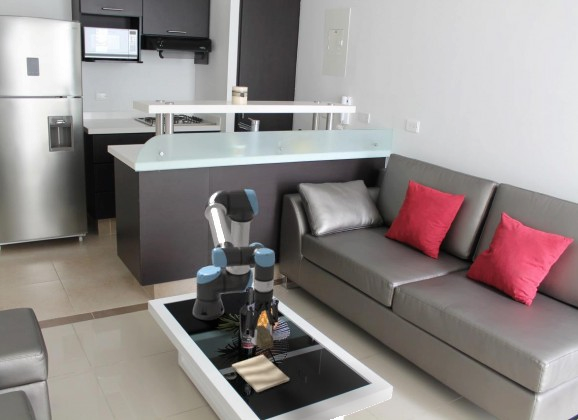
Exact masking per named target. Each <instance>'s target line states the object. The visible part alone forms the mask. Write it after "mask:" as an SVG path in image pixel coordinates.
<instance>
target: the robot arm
mask: <svg viewBox="0 0 578 420" xmlns="http://www.w3.org/2000/svg"><path fill="white" fill-rule="evenodd" d="M203 213H204V216H205V218H206V219H207V220H208V223H209V228H210V233H211V237H212V241H213V246H214V248H213V249H211V263H212V265H208V266H204V267H201V268H200V269H199V270H198V271H197V273H196V279H195V282H196V299H195V302H194V304H193V308H192V315H193V316H194V317H195V318H196V319H198V320H201V321H214V319H215V320H218V319H219V318H218V317H219V316H222V315H223V314H224V313H225V307H224V305H223V301H222V297H221V296H222V294H233V293H234V294H235V293H245V292H246V289H247V288H248V287H251V288H252V286H253V302H252V304H246V309H247V313H246V321H245V328H246V329H247V330H249V336H250V337H252V338H251V340H250V341H251V343H252V345H254V346H257V330H256V326H258V323H259V320H260V317H261V315H262V313H263V312H264V311H265V313H266V317H267V321H268V322H267V323H266V329H267V330H268V332H269V333H270V334H271V335H272V334H273V332H274V327H275V326H276V324H277V323H278V322H279V306H278V305H279V303H280V300H279V299H278V298H276V297H274V283H275V278H274V277H275V264H276V263H275V262H276V258H275V257H276V256H275V255H276V254H275V251H274V250H273V249H271V248H268V247H266V246H264V245H263V244H262V243H260V242H252V243H251V244H249V241H250V231H251V230H250V229H251V222H252V221H253V220H254V217H255V216H257V215H258V214H259V203H258V197H257V194H256V191H255V190H254V189H246V188H243V189H220V190H217V191H214V192H213V193H211V194H210V195H209V196H208V198H207V200H206V201H205V204H204V206H203ZM227 216H228V219H229V220H230V221H231V223H230V224H231V225H230V226H231V227H230V226H229V222H228V219H227ZM250 266H253V268H254V273H253V269H252V268H251V267H250ZM222 268H224V269H222ZM224 315H225V314H224ZM224 315H223V316H224ZM223 316H222V317H223ZM217 318H218V319H217ZM272 336H273V335H272Z"/></svg>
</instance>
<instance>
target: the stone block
mask: <svg viewBox="0 0 578 420" xmlns="http://www.w3.org/2000/svg"><path fill="white" fill-rule="evenodd" d="M256 330H257V345H256V346H257V347H258V348H259V349H261V350H267V349H271V348H273V347H274V336H273V335H271V334H270V333H269V332H268V330H267V327H266V326H265V325H257V326H256ZM250 337H251V336H250ZM251 339H252V337H251Z"/></svg>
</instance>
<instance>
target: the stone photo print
mask: <svg viewBox="0 0 578 420" xmlns="http://www.w3.org/2000/svg"><path fill="white" fill-rule="evenodd" d="M231 368H232V369H234V371H235V372H237V374H239V376H241V378H242V379H243V380H245V382H246V383H248V385H250V387H252V388H253V390H254V391H255V392H256V393H260V392H263V391H265V390H268V389H270V388H273V387H276V386H279V385H281V384H283V383H287V382H289V381H290V377H289V376H287V375H286V374H285V373H284V372H283V371H282V370H281V369H279V368H278V367H277V366H276V365H275V364H274V363H273V362H271V360H269V359H268V358H267V357H266V356H265V355H264V354H260V355H258V356H253V357H251V358H248V359H245V360H242V361H238V362H236V363H233V364H231Z"/></svg>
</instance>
